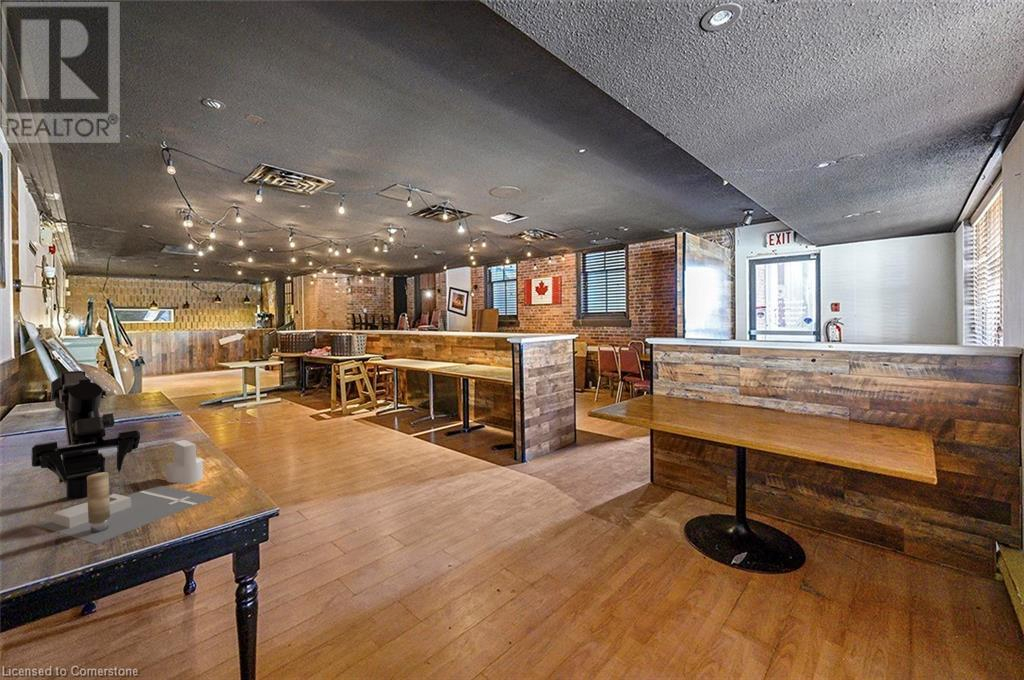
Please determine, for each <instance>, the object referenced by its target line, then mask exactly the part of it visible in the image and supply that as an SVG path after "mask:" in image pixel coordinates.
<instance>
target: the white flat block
mask: <svg viewBox="0 0 1024 680" xmlns="http://www.w3.org/2000/svg"><path fill="white" fill-rule="evenodd" d="M126 496H127V495H122V494H118V493H112V494H109V498H110V514H112V513H115V512H118V511H121V510H124V509H127V508H130V507H131V498H130V497H126ZM52 520H53V523H55V524H58V525H62V526H65V527H68V528H72V527H74V526H77V525H80V524H83V523H86V522H88V501H87V502H84V503H80V504H76V505H74V506H70V507H67V508H64V509H61V510H60V509H59V510H58V511H54V512H53V513H52Z"/></svg>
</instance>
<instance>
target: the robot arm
mask: <svg viewBox="0 0 1024 680" xmlns="http://www.w3.org/2000/svg"><path fill="white" fill-rule="evenodd" d="M59 375H60V376H59V377H57V378H56V379H54V380H53V381H51V383H50V384H51V385H50V399H51V400H52V401H53V400H54V404H55V405H54V406H55V407H56V408H58V409H59V410H60V411H63V417H64V424H65V432H66V434H65V435H66V441H67V442H66V443H67V444H66V445H65V444H64V445H62V446H61V445H60V446H58V442H57V441H51V442H45V443H37V444H34V445H33V446H32V447H31V459H30V460H31V466H32V467H34V468H36V467H37V468H38V467H40V468H41V469H48V470H50V471H51V472H53V474H55V475H56V476H57V477H58V478H57V479H58V482H59V484H61V483H65V491H66V493H65V494H66V495H65V497H62V498H60V500H62V499H65V498H66V499H70V500H71V499H84V498H88V495H87V476H89V475H92V474H96V473H102V472H106V468H105V466H106V457H105V456H104V455H103V453H102V452H99V450H101V449H107V448H108V449H109V448H113V447H116V469H117V472H118V473H121V470H122V466H123V462H124V459H125V458H126V455H127V454H130V453H131V452H133V450H136V449H138V448H139V445H140V444H139V443H140V440H141V435H140V432H139V431H138V430H136V429H132V430H131V429H130V430H125V431H119V432H117V436H116V437H115V438H108V439H105V438H104V437H106V435H107V434H106V429H109V428H113V427H114V426H115V417H114V414H113V413H105V414H103V415H102V416H101V415H100V411H99V409H100V407H101V400H102V399H104V397H106V396H107V393H106V390H104V389H103V388H102V386H100V384H97V382H94V381H92V379H91V378H89V377H88V376H87V374H86V371H84V370H74V371H73V370H71V371H69V370H68V371H63V372H60V374H59Z"/></svg>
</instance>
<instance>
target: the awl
mask: <svg viewBox="0 0 1024 680" xmlns="http://www.w3.org/2000/svg"><path fill="white" fill-rule="evenodd" d="M87 495H88V497H87V502H88V522H89V523H90V528H91V533H98V532H102V531H105V530H107V529H108V528H109V522H108V519H109V518H110V498H109V495H110V473H109V472H106V471H105V472H102V473H96V474H92V475H89V476H87Z"/></svg>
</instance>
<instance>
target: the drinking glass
mask: <svg viewBox="0 0 1024 680" xmlns="http://www.w3.org/2000/svg"><path fill="white" fill-rule="evenodd" d="M172 443H173V444H172V445H173V460H172V461H170V462H168V463H166V466H165V468H166V471H165V472H166V473H165V474H166V482H167V483H174V484H179V485H186V486H189V485H188V484H190V485H192V484H191V483H193V484H196V483H198V482H197V481H199V480H200V479H202V478H203V479H204V458H202V457H197V448H196V447H197V446H196V443H193V442H191V441H189V440H186V439H183V440H182V439H181V440H177V441H173V442H172ZM203 479H202V480H203ZM195 482H196V483H195ZM199 482H200V481H199Z"/></svg>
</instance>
